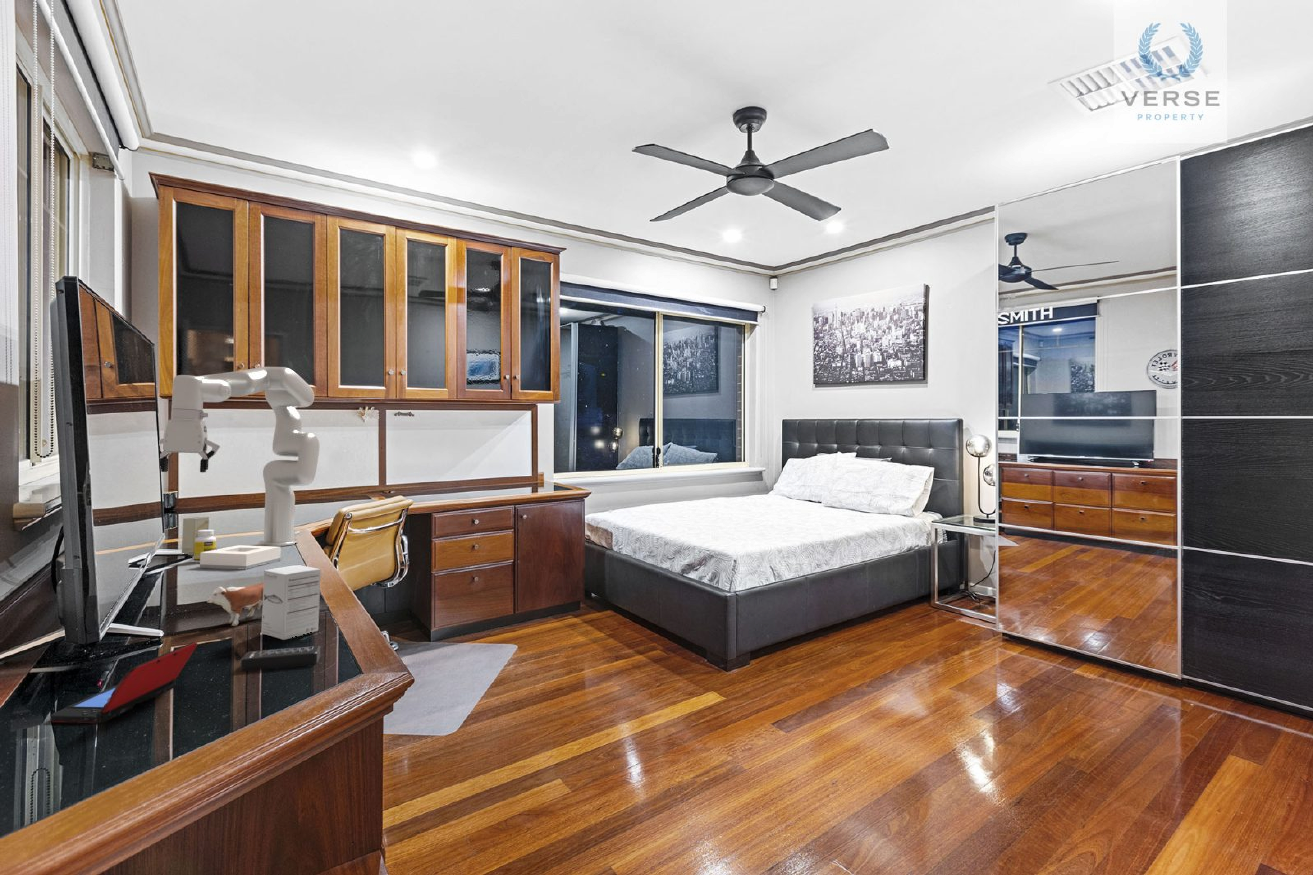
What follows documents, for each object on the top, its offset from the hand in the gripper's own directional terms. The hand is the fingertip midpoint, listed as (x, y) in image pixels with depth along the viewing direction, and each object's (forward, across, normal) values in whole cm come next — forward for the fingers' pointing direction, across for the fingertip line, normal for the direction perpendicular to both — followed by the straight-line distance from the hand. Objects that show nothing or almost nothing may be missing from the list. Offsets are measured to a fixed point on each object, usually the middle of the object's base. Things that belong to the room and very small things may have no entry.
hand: (183, 472), depth 183 cm
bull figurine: (+29, -34, +73) cm, 85 cm away
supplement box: (+29, -44, +85) cm, 100 cm away
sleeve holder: (+28, -16, +2) cm, 33 cm away
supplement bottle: (+28, -5, -6) cm, 30 cm away
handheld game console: (+30, -30, +115) cm, 123 cm away
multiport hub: (+30, -47, +104) cm, 117 cm away
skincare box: (+28, +3, -23) cm, 37 cm away
